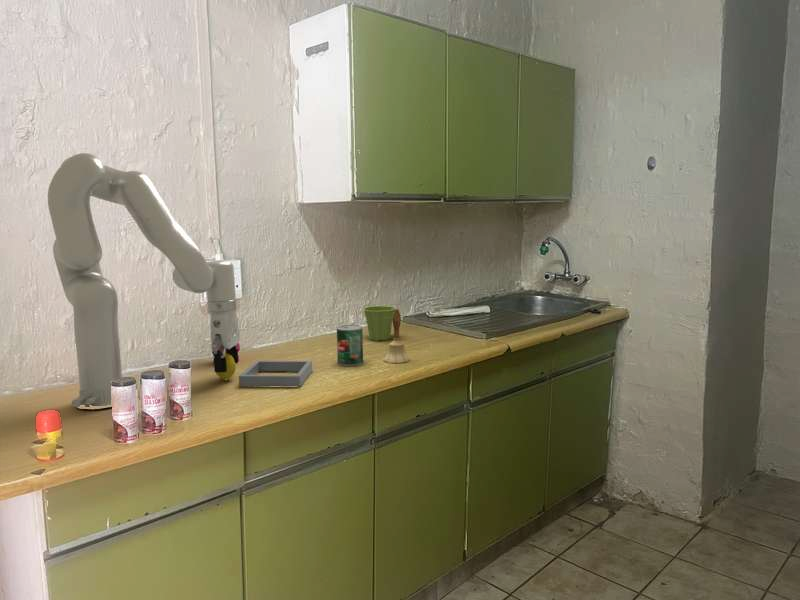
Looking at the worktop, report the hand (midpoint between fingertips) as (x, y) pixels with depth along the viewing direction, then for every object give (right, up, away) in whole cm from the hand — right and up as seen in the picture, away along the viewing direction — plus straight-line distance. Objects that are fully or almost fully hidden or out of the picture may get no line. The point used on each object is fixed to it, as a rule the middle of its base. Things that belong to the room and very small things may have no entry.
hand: (226, 367), depth 170 cm
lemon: (0, -4, 0) cm, 4 cm away
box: (+14, -3, +1) cm, 14 cm away
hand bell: (+47, 0, +20) cm, 51 cm away
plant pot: (+41, +4, +50) cm, 65 cm away
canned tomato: (+33, -1, +18) cm, 37 cm away
